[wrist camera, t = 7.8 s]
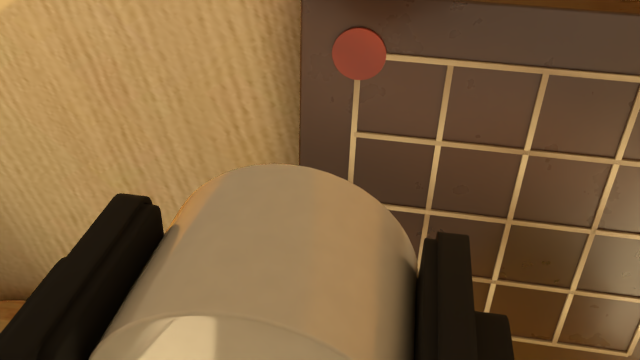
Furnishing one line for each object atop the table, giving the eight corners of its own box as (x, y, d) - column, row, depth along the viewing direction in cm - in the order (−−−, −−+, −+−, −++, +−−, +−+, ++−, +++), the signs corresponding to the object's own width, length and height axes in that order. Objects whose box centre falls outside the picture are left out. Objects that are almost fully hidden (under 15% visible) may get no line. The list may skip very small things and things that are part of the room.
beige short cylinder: (157, 148, 11) (47, 288, 8) (435, 178, 10) (433, 343, 7) (182, 340, 13) (107, 501, 10) (404, 373, 13) (395, 554, 10)
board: (309, -25, 21) (299, -11, 19) (825, 14, 19) (854, 32, 17) (302, 314, 29) (296, 339, 28) (652, 364, 27) (663, 394, 26)
